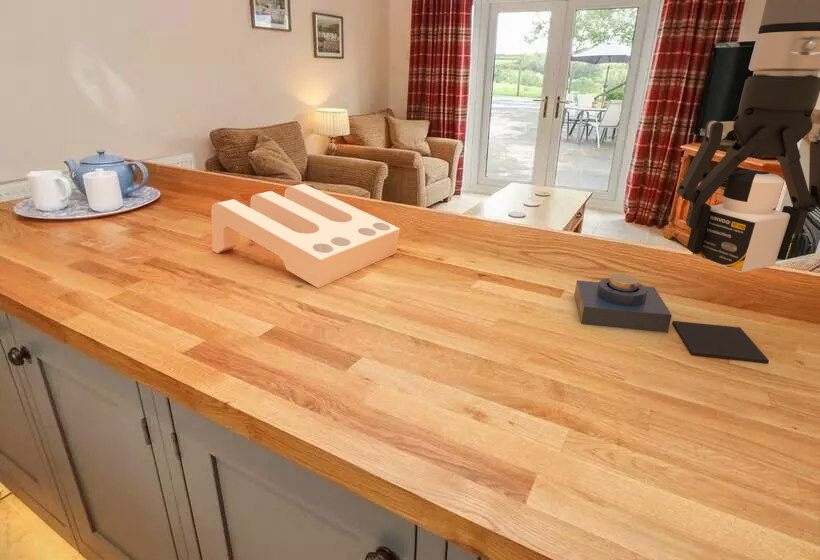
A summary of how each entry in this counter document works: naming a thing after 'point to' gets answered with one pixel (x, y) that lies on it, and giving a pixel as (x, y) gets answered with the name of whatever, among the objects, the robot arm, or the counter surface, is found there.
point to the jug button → (623, 283)
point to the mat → (718, 342)
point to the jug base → (621, 307)
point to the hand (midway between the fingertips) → (734, 253)
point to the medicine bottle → (746, 223)
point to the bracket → (306, 232)
